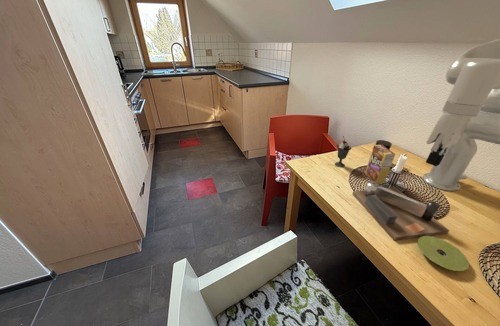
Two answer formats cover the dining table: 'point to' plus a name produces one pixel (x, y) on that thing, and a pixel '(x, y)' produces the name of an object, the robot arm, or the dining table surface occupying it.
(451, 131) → the robot arm
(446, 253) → the green disc
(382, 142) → the supplement container
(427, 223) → the nutcracker bench
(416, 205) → the lever
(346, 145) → the sundae
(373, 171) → the candy box
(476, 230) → the dining table surface
